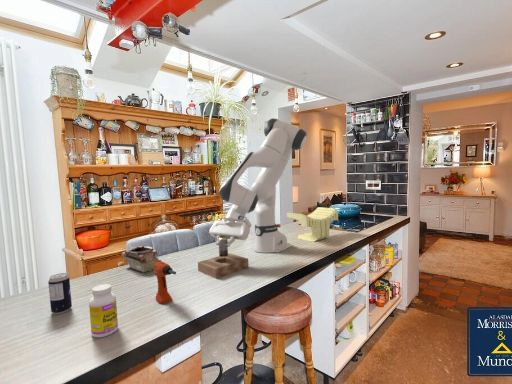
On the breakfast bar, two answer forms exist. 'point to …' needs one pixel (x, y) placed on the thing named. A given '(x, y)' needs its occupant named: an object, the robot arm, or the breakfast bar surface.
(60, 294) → the beverage can
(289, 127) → the robot arm
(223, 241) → the key peg
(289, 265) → the breakfast bar surface
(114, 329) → the supplement bottle
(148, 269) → the decorative box
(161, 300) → the toy drill
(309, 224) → the slatted curved stool
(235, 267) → the chuck block
